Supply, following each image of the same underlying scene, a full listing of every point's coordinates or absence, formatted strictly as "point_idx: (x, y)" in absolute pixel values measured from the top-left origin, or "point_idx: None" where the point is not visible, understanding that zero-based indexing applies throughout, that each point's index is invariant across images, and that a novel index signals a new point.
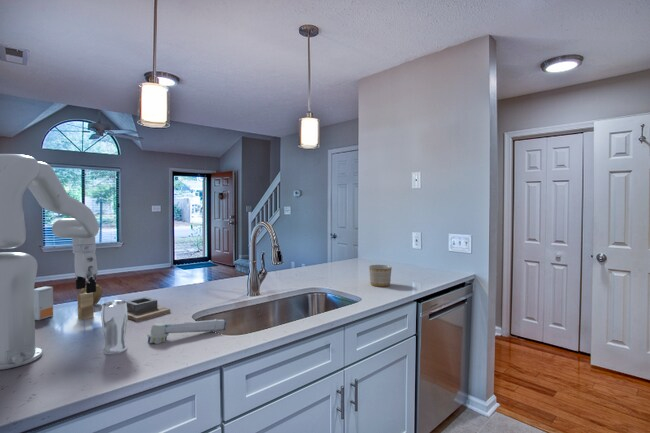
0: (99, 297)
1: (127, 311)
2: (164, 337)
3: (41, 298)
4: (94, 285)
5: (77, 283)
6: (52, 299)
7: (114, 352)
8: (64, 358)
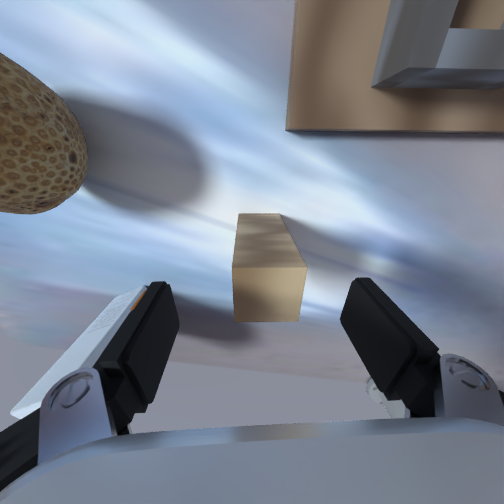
0: (57, 98)
1: (411, 95)
2: None
3: None
4: (401, 324)
5: (163, 366)
6: (109, 334)
7: None
8: (487, 346)
